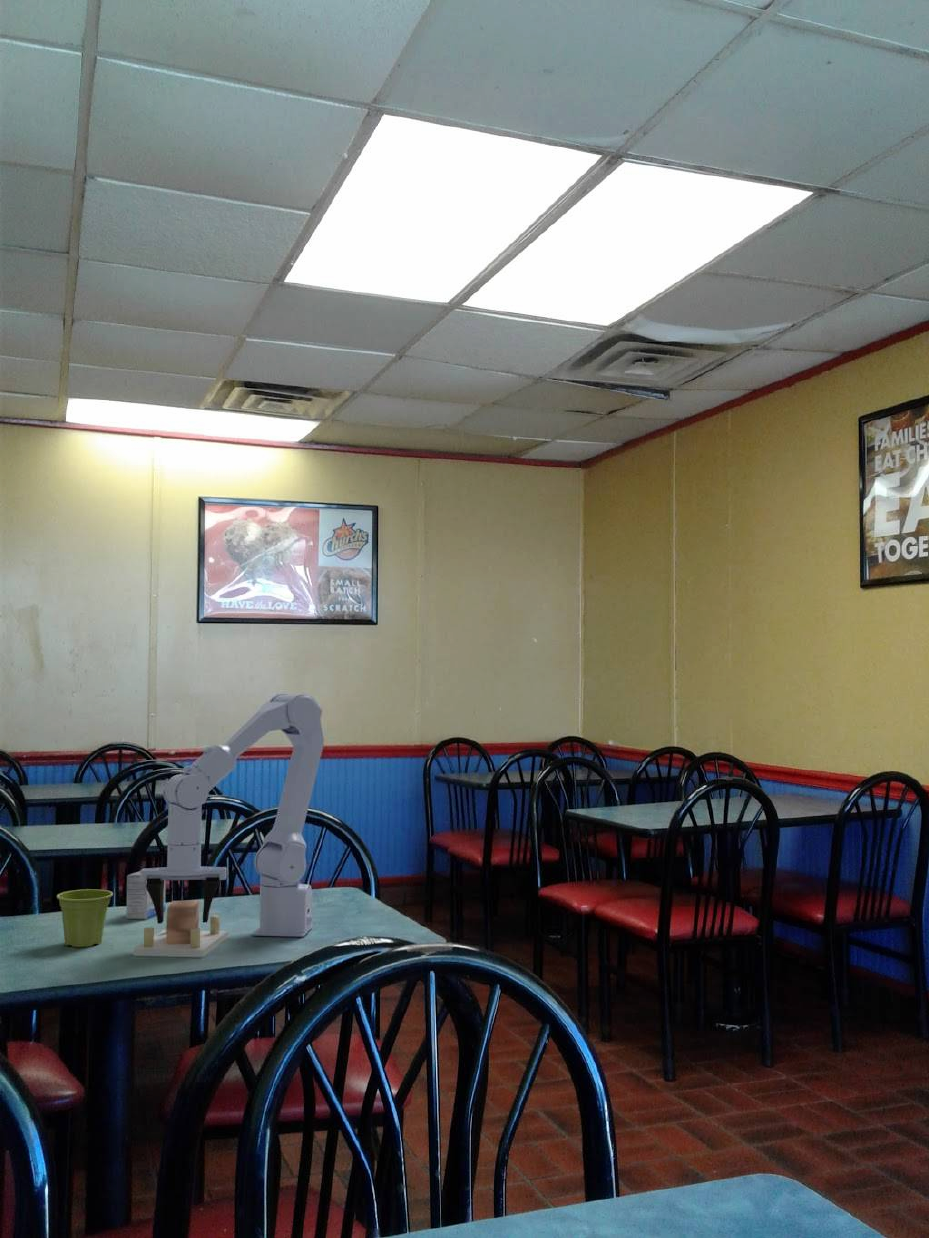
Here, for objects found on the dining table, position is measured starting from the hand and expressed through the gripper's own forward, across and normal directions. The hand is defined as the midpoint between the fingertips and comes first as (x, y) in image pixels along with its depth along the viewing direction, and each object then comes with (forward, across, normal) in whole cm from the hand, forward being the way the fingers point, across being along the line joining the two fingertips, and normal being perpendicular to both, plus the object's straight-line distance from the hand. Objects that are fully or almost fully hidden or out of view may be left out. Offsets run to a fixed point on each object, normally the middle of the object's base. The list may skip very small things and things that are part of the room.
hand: (182, 921), depth 188 cm
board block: (+3, 0, 0) cm, 3 cm away
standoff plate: (+4, 0, 0) cm, 4 cm away
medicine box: (+4, +11, -27) cm, 30 cm away
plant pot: (+4, +18, -4) cm, 19 cm away
